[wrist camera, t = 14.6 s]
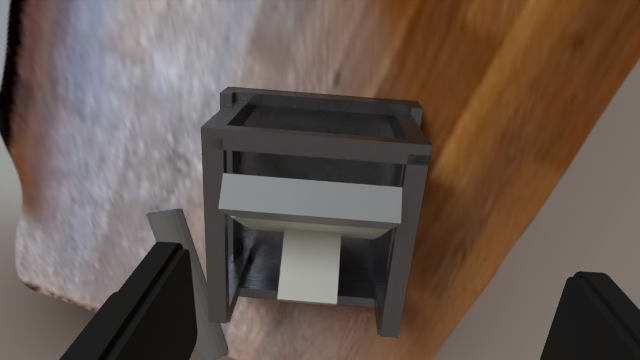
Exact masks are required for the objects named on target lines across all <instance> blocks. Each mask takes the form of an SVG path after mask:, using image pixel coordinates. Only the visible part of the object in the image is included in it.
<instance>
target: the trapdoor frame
mask: <svg viewBox="0 0 640 360" xmlns="http://www.w3.org/2000/svg"><path fill="white" fill-rule="evenodd" d="M422 114H423V108H422V106H421V105H420V104H419V103H418V102H417V101H407V100H394V99H381V98H368V97H355V96H342V95H329V94H316V93H303V92H290V91H277V90H264V89H251V88H238V87H227V88H226V89H225V90H223V91H222V92H221V93H220V111H219V112H218V113H216V114H215V115H214V116H213V117H212V118H211V119H210V120H209V121H207V122H206V123H205V124H204V125H203V126H202V127H201V141H202V167H203V192H204V218H205V244H206V269H207V295H208V321H209V322H214V323H227V322H230V319H231V316H232V313H233V310H234V308H235V305H236V302H237V299H238V296H242V297H254V298H266V299H277V297H278V287H279V278H280V268H281V259H282V250H283V240H284V232H277V231H265V230H252V229H248V228H247V227H245V226H244V225H242V224H241V223H239V222H238V221H236V220H235V219H233V218H232V217H231V216H229V215H227V214H226V213H224V212H223V211H221V210H220V209H218V208H219V200H220V193H221V185H222V178H223V173H227V174H239V175H252V176H265V177H277V178H290V179H302V180H315V181H328V182H340V183H353V184H365V185H378V186H390V187H402V210H401V224H399V225H397V226H396V227H394V228H392V229H390V230H389V231H387V232H386V233H384V234H382V235H381V236H379V237H378V238H376V239H364V238H351V237H341V246H340V261H339V277H338V293H337V304H338V305H351V306H363V307H375V316H376V324H377V333H378V335H380V336H383V337H395V338H398V335H399V329H400V323H401V318H402V312H403V307H404V301H405V295H406V290H407V284H408V279H409V273H410V267H411V262H412V256H413V250H414V245H415V239H416V234H417V228H418V222H419V217H420V211H421V206H422V200H423V194H424V189H425V183H426V178H427V172H428V166H429V161H430V155H431V150H432V144H431V143H430V141H429V140H428V138H427V137H426V135H425V134H424V132H423V131H422V129H421V128H420V126H421V120H422Z"/></svg>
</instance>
